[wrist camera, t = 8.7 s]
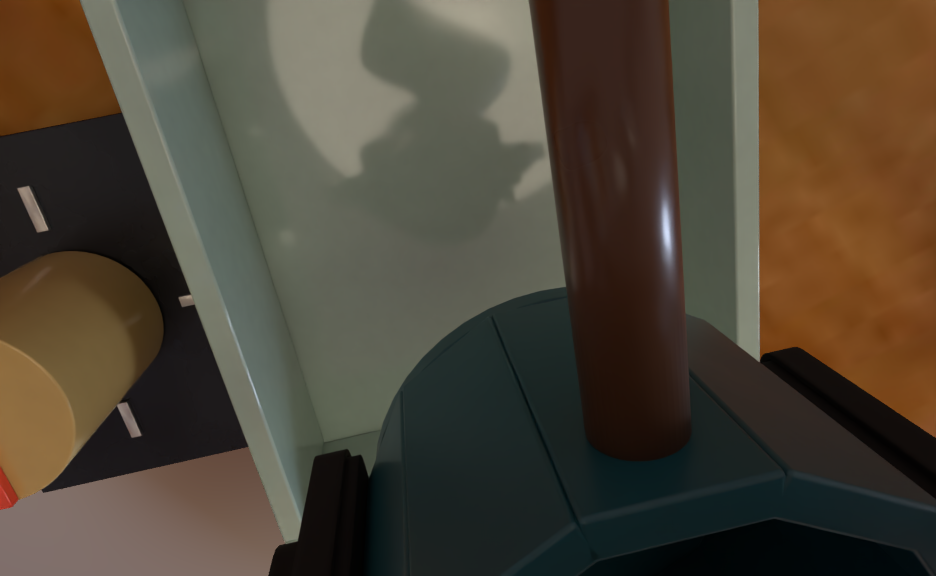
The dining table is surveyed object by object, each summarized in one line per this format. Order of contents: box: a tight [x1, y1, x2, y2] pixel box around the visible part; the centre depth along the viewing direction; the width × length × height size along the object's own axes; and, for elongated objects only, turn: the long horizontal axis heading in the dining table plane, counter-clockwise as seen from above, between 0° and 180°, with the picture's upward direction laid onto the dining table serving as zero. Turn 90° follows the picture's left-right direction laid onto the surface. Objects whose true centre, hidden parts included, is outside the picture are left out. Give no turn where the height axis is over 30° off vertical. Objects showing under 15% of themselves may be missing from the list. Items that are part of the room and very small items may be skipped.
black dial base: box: [0, 113, 248, 493], centre depth 21 cm, size 12×9×3 cm
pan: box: [363, 0, 936, 576], centre depth 7 cm, size 12×7×5 cm, turn 11°
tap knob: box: [0, 251, 164, 510], centre depth 16 cm, size 5×5×6 cm
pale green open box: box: [80, 0, 760, 544], centre depth 20 cm, size 20×17×6 cm
